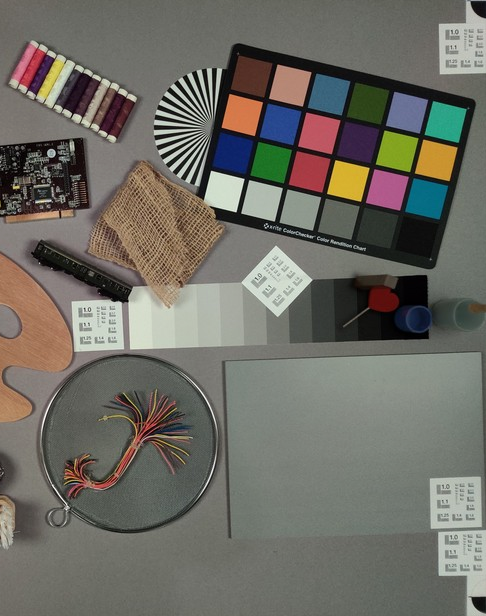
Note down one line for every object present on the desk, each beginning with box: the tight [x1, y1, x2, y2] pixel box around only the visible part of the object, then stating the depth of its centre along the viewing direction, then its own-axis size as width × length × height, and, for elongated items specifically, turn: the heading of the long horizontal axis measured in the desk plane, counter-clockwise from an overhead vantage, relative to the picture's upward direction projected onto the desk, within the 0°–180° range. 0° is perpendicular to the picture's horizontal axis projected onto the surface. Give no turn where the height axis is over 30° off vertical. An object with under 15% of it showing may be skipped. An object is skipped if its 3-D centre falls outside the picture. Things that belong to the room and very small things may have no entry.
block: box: [352, 273, 399, 291], centre depth 137 cm, size 3×3×14 cm
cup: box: [431, 297, 486, 333], centre depth 139 cm, size 8×8×10 cm
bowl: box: [393, 304, 434, 334], centre depth 141 cm, size 6×6×5 cm
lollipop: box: [342, 289, 400, 328], centre depth 143 cm, size 8×1×15 cm
